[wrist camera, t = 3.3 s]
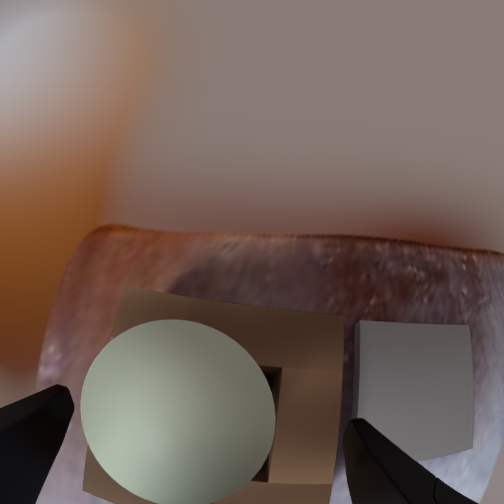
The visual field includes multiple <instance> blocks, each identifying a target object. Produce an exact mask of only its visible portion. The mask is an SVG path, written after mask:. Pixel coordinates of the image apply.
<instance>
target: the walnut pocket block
mask: <svg viewBox="0 0 504 504" xmlns="http://www.w3.org/2000/svg"><path fill="white" fill-rule="evenodd" d="M171 319H177V320H186V321H192V322H196V323H201V324H203V325H206V326H209V327H212V328H214V329H216V330H218V331H220V332H222V333H224V334H225V335H227V336H228V337H230V338H231V339H233V340H235V341H236V342H237V343H238V344H239V345H240V346H242V347H243V348H244V349H245V350H246V351H247V352H248V353H249V354H250V355H251V357H252V358H253V359H254V360H255V362H256V363H257V364H258V366H259V367H260V369H261V370H262V372H263V374H264V376H265V378H266V379H273V388H272V397H273V401H274V405H275V417H276V420H275V433H274V438H273V443H272V446H271V449H270V451H269V454H268V456H267V458H266V460H265V462H264V464H263V466H262V469H261V468H260V470H259V471H258V472H257V474H256V475H255V476H254V477H253V478H252V479H251V480H250V481H249V482H248V483H247V484H246V485H245V486H244V487H242V488H241V489H240V490H238V491H237V492H236V493H234V494H232V495H230V496H228V497H226V498H224V499H222V500H219V501H217V502H214V503H211V504H329V502H330V496H331V489H332V483H333V476H334V468H335V461H336V452H337V443H338V434H339V423H340V411H341V397H342V380H343V356H344V315H333V314H322V313H312V312H302V311H293V310H284V309H275V308H267V307H259V306H251V305H243V304H236V303H228V302H221V301H214V300H207V299H200V298H194V297H187V296H181V295H175V294H169V293H163V292H157V291H151V290H145V289H140V288H134V287H129V286H125V289H124V293H123V296H122V299H121V302H120V306H119V309H118V312H117V316H116V319H115V323H114V326H113V330H112V333H111V337H110V341H112V340H113V339H114V338H116V337H117V336H118V335H120V334H121V333H123V332H125V331H127V330H128V329H130V328H133V327H135V326H138V325H140V324H144V323H147V322H151V321H157V320H171ZM110 341H109V342H110ZM83 491H85V492H88V493H90V494H92V495H95V496H97V497H99V498H102V499H104V500H107V501H110V502H112V503H115V504H158V503H155V502H152V501H149V500H146V499H143V498H141V497H139V496H137V495H135V494H133V493H131V492H130V491H128V490H127V489H125V488H124V487H122V486H121V485H120V484H119V483H117V482H116V481H115V480H114V479H113V478H111V476H110V475H109V474H108V473H107V472H106V471H105V470H104V469H103V468H102V466H101V465H100V464H99V462H98V461H97V459H96V458H95V456H94V454H93V453H92V451H91V449H90V447H89V445H88V447H87V454H86V462H85V470H84V480H83Z"/></svg>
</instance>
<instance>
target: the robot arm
mask: <svg viewBox="0 0 504 504" xmlns="http://www.w3.org/2000/svg"><path fill="white" fill-rule="evenodd" d="M73 412H74V403H73V400H72V397H71V394H70V391H69V389H68V388H67V387H65V386H62V385H59V384H56V385H54V386H52V387H49V388H47V389H45V390H42V391H40V392H38V393H35V394H33V395H31V396H28V397H26V398H24V399H21V400H19V401H17V402H14V403H12V404H9V405H7V406H4V407H2V408H0V504H35V503H36V501H37V499H38V496H39V494H40V491H41V489H42V487H43V484H44V482H45V480H46V478H47V475H48V473H49V471H50V469H51V467H52V464H53V462H54V460H55V458H56V456H57V454H58V452H59V450H60V447H61V445H62V443H63V440H64V437H65V434H66V432H67V429H68V426H69V423H70V420H71V418H72V415H73ZM343 449H344V458H345V467H346V476H347V483H348V487H349V492H350V496H351V500H352V504H478V503H477V502H475V501H473V500H471V499H469V498H467V497H466V496H464V495H462V494H460V493H459V492H457V491H455V490H454V489H453V488H451V487H450V486H448V485H447V484H445V483H444V482H443V481H441V480H440V479H439V478H436V477H435V475H433V474H432V473H431V472H429V471H428V470H427V469H425V468H424V467H423V466H422V465H420V464H419V463H418V462H417V461H415V460H414V459H413V458H411V457H410V456H409V455H408V454H406V453H405V452H404V451H403V450H401V449H400V448H399V447H398V446H397V445H395V444H394V443H393V442H392V441H390V440H389V439H388V438H387V437H386V436H384V435H383V434H382V433H381V432H379V431H378V430H377V429H376V428H375V427H373V426H372V425H371V424H370V423H369V422H368V421H366V420H365V419H364V418H352V419H350V420H349V422H348V424H347V427H346V430H345V432H344V435H343Z"/></svg>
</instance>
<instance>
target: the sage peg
mask: <svg viewBox="0 0 504 504" xmlns="http://www.w3.org/2000/svg"><path fill="white" fill-rule="evenodd" d="M81 419H82V426H83V430H84V434H85V437H86V439H87V442H88V445H89V447H90V449H91V451H92V453H93V454H94V456H95V458H96V459H97V461H98V462H99V464H100V465H101V466H102V468H103V469H104V470H105V471H106V472H107V473H108V474H109V475H110V476H111V478H113V479H114V480H115V481H116V482H117V483H119V484H120V485H121V486H122V487H124V488H125V489H127V490H128V491H130V492H131V493H133V494H135V495H137V496H139V497H141V498H143V499H146V500H149V501H152V502H155V503H158V504H211V503H214V502H217V501H219V500H222V499H224V498H226V497H228V496H230V495H232V494H234V493H236V492H237V491H238V490H240V489H241V488H242V487H244V486H245V485H246V484H247V483H248V482H249V481H250V480H251V479H252V478H253V477H254V476H255V475H256V474H257V472H258V471H259V470H260V468H261V467H262V465H263V464H264V462H265V460H266V458H267V456H268V454H269V451H270V449H271V446H272V443H273V438H274V433H275V420H276V417H275V405H274V401H273V397H272V392H271V390H270V387H269V385H268V382H267V380H266V378H265V376H264V374H263V372H262V370H261V369H260V367H259V366H258V364H257V363H256V362H255V360H254V359H253V358H252V357H251V355H250V354H249V353H248V352H247V351H246V350H245V349H244V348H243V347H242V346H240V345H239V344H238V343H237V342H236V341H235V340H233V339H231V338H230V337H228V336H227V335H225V334H224V333H222V332H220V331H218V330H216V329H214V328H212V327H209V326H206V325H203V324H201V323H196V322H192V321H186V320H177V319H171V320H157V321H151V322H147V323H144V324H140V325H138V326H135V327H133V328H130V329H128V330H127V331H125V332H123V333H121V334H120V335H118V336H117V337H116V338H114V339H113V340H112V341H110V342H109V343H108V344H107V345H106V346H105V347H104V348H103V349H102V351H101V352H100V353H99V354H98V356H97V357H96V358H95V360H94V362H93V363H92V365H91V367H90V369H89V371H88V373H87V375H86V378H85V381H84V385H83V388H82V395H81Z"/></svg>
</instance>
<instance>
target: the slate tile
mask: <svg viewBox="0 0 504 504" xmlns="http://www.w3.org/2000/svg"><path fill="white" fill-rule="evenodd" d="M352 418H364V419H365V420H366V421H368V422H369V423H370V424H371V425H372V426H373V427H375V428H376V429H377V430H378V431H379V432H381V433H382V434H383V435H384V436H386V437H387V438H388V439H389V440H390V441H392V442H393V443H394V444H395V445H397V446H398V447H399V448H400V449H401V450H403V451H404V452H405V453H406V454H408V455H409V456H410V457H411V458H413V459H414V460H415V461H422V460H427V459H432V458H437V457H441V456H445V455H450V454H454V453H457V452H461V451H465V450H468V449H472V448H473V433H474V372H473V357H472V346H471V336H470V328H469V325H446V324H419V323H398V322H382V321H367V320H360V321H359V322H358V323H356V324H355V346H354V382H353V401H352V416H351V419H352Z"/></svg>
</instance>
